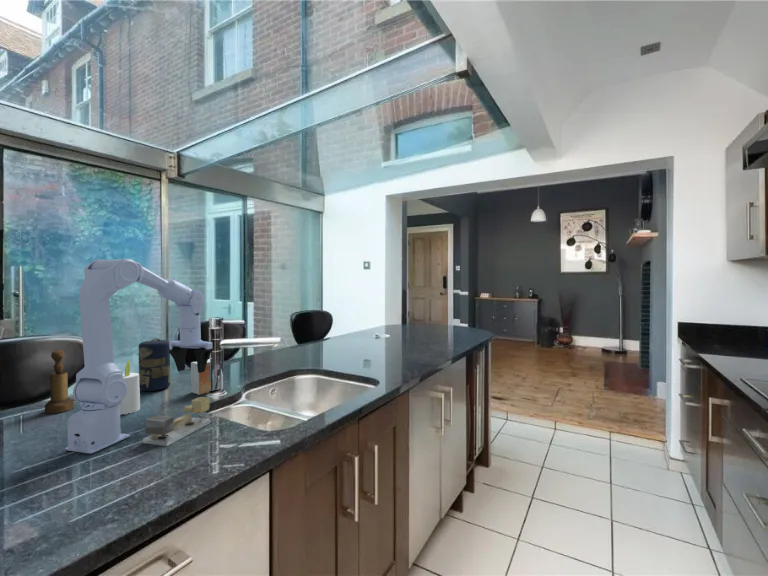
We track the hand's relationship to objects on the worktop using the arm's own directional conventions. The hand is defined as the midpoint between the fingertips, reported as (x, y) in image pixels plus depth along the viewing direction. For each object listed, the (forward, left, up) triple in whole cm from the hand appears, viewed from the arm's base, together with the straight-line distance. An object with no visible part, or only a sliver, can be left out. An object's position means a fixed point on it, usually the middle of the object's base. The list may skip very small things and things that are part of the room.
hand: (191, 371), depth 114 cm
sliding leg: (-12, -13, -9) cm, 19 cm away
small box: (+12, +5, -10) cm, 17 cm away
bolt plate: (-19, -14, -10) cm, 26 cm away
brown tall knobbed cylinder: (-14, +35, -10) cm, 39 cm away
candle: (-10, +14, -10) cm, 20 cm away
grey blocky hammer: (-19, -13, -9) cm, 25 cm away
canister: (+10, +25, -10) cm, 29 cm away
